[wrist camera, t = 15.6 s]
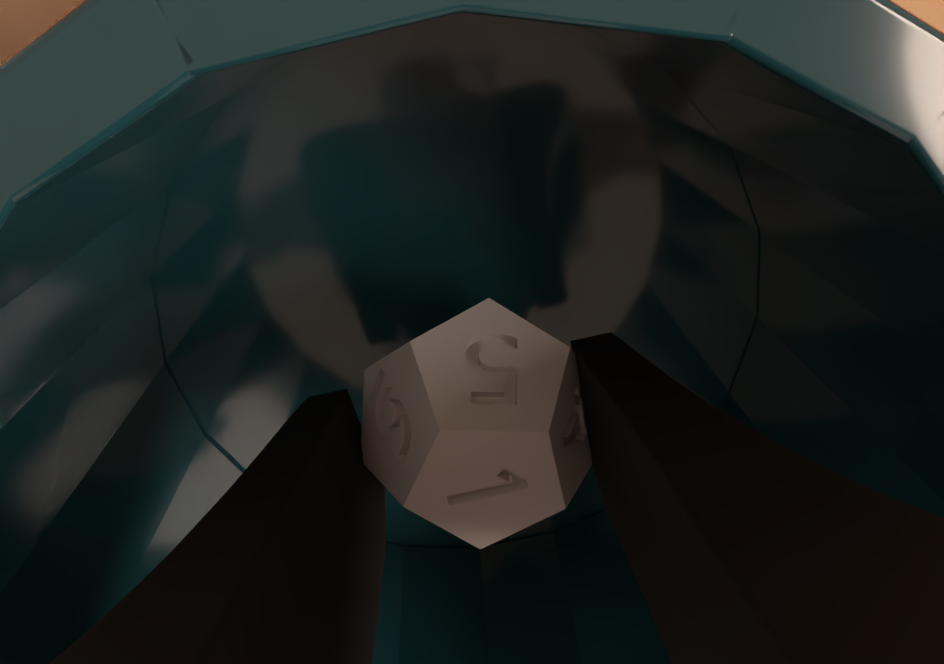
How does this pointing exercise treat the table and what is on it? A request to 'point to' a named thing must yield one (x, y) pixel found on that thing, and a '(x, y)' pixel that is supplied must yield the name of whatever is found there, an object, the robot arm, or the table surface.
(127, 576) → the pot
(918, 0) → the table surface
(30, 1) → the table surface
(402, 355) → the game die
